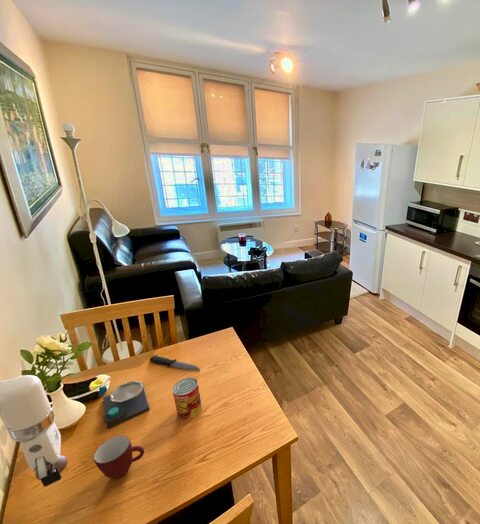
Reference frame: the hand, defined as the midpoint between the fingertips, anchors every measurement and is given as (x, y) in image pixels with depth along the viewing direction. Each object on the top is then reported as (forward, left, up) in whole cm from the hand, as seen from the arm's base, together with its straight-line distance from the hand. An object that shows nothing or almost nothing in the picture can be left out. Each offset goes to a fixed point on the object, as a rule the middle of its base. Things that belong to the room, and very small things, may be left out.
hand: (53, 470), depth 76 cm
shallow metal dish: (+18, +25, -5) cm, 31 cm away
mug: (+14, -4, -8) cm, 16 cm away
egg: (0, 0, -1) cm, 1 cm away
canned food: (+34, +6, -8) cm, 35 cm away
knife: (+35, +34, -8) cm, 49 cm away
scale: (+17, +22, -8) cm, 29 cm away
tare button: (+13, +17, -5) cm, 23 cm away
